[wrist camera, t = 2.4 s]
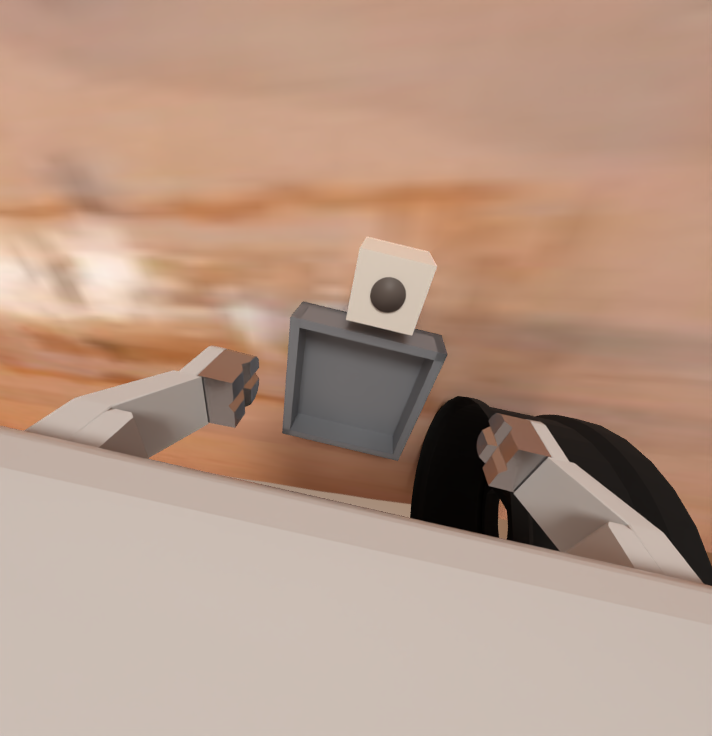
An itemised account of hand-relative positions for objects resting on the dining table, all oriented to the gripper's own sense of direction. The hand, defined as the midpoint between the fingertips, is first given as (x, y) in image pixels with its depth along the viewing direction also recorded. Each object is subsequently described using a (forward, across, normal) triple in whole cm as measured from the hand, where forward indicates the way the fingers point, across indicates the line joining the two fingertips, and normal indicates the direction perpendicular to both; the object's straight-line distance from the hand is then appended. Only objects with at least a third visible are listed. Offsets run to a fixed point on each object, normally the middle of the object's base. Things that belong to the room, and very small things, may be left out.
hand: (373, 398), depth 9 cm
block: (+16, 0, 0) cm, 16 cm away
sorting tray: (+16, 0, +11) cm, 19 cm away
